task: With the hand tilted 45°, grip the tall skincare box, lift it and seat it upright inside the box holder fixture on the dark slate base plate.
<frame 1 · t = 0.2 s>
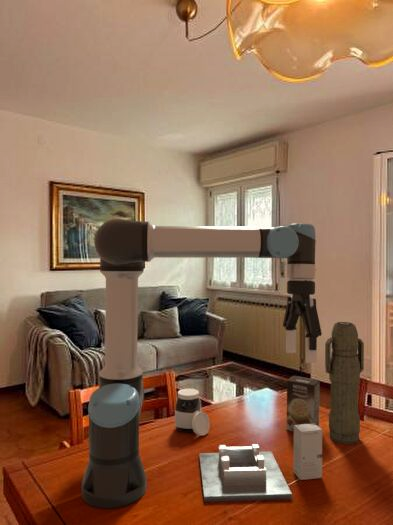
hand: (300, 357, 110), 28 cm above the table, tool pointing down, fingers open, 13 cm apart
skincare box: (307, 475, 102), on the table
coffee box: (302, 430, 128), on the table
thermos: (344, 438, 123), on the table
box holder fixture: (241, 476, 101), on the table
spread jar: (192, 430, 129), on the table
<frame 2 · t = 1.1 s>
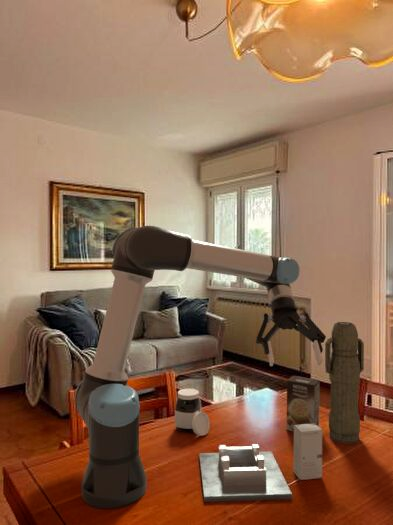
hand: (296, 363, 112), 26 cm above the table, tool tilted 45°, fingers open, 13 cm apart
nothing on the table moved.
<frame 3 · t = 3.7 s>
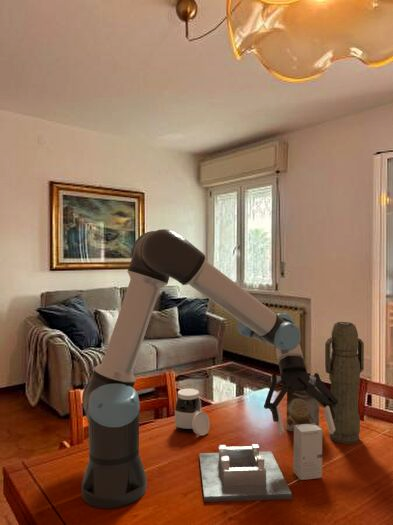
hand: (307, 432, 106), 9 cm above the table, tool tilted 45°, fingers open, 13 cm apart
nothing on the table moved.
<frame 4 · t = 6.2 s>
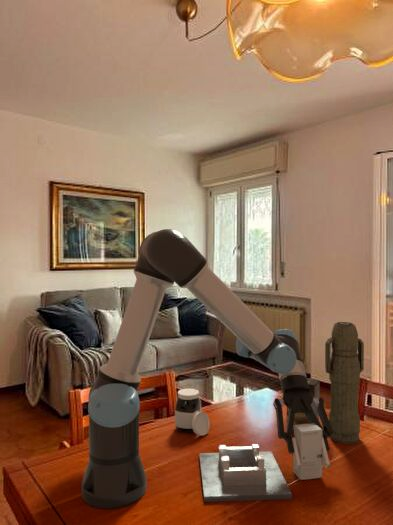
hand: (312, 466, 99), 4 cm above the table, tool tilted 45°, fingers closed on skincare box, 6 cm apart
skincare box: (307, 475, 102), on the table, touching gripper
everything else where it was.
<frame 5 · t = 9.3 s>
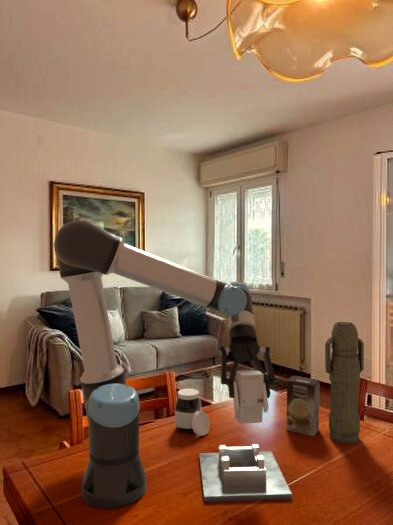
hand: (251, 409, 98), 18 cm above the table, tool tilted 45°, fingers closed on skincare box, 6 cm apart
skincare box: (248, 420, 101), point 14 cm above the table, touching gripper
everything else where it was.
when the fingers open (8 cm above the table, at t = 12.3 s): skincare box drops 3 cm, resting on box holder fixture.
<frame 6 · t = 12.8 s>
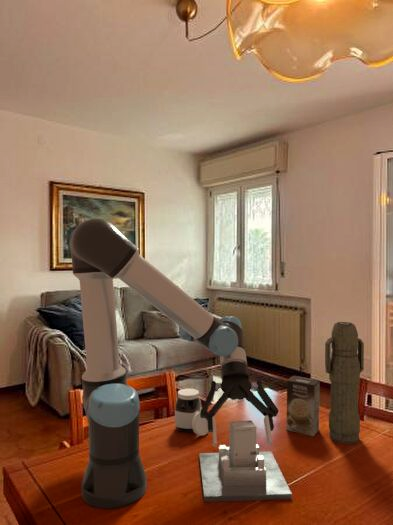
hand: (242, 444, 99), 9 cm above the table, tool tilted 45°, fingers open, 13 cm apart
skincare box: (242, 472, 101), point 1 cm above the table, touching box holder fixture
everything else where it was.
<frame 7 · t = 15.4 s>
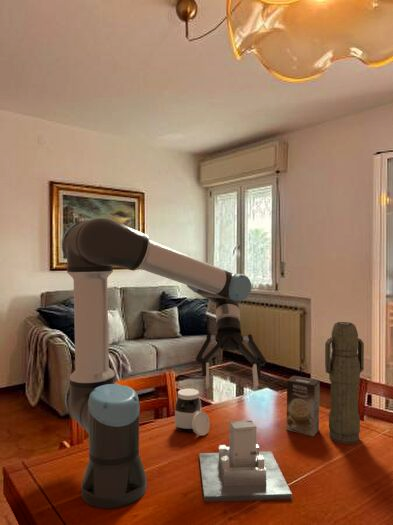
hand: (232, 387, 111), 19 cm above the table, tool tilted 45°, fingers open, 13 cm apart
nothing on the table moved.
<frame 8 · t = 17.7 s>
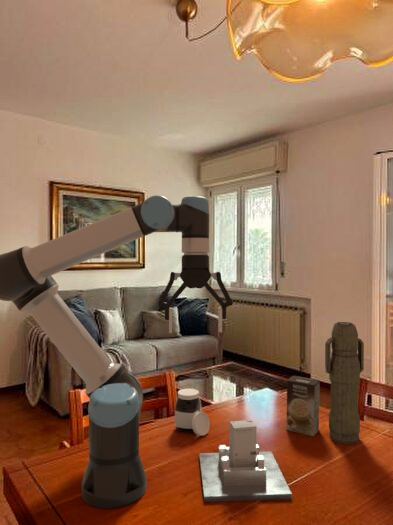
hand: (195, 331, 110), 35 cm above the table, tool pointing down, fingers open, 13 cm apart
nothing on the table moved.
at the end: skincare box 0.3 cm off-centre on the box holder fixture, point 1.0 cm above the box holder fixture's base; skincare box tilted 0°; the gripper is holding nothing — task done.
